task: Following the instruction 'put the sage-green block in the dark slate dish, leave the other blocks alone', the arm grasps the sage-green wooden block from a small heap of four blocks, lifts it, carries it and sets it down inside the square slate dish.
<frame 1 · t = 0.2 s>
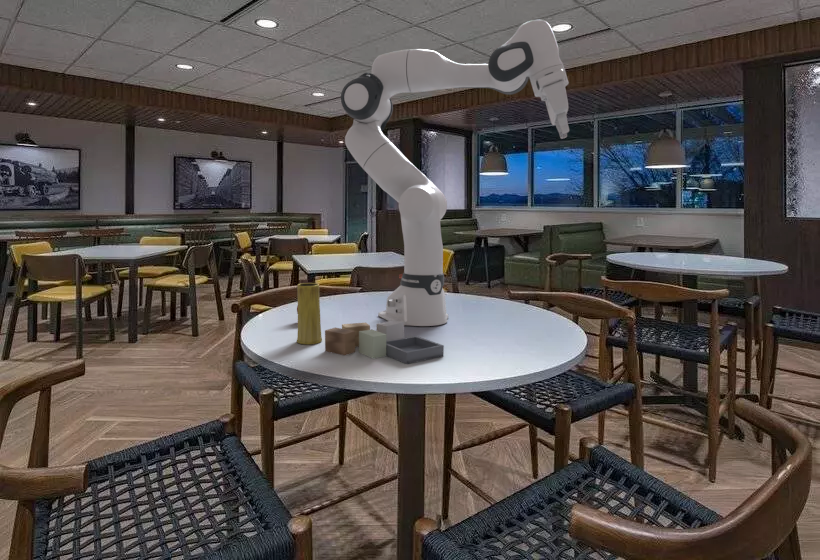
hand: (565, 135, 135), 52 cm above the table, tool tilted 20°, fingers open, 8 cm apart
block oak: (356, 345, 125), on the table
slate dish: (411, 354, 117), on the table
block sage: (372, 354, 118), on the table
block grey: (390, 342, 128), on the table
onion: (307, 322, 149), on the table
block walnut: (340, 351, 119), on the table
vase: (309, 342, 128), on the table
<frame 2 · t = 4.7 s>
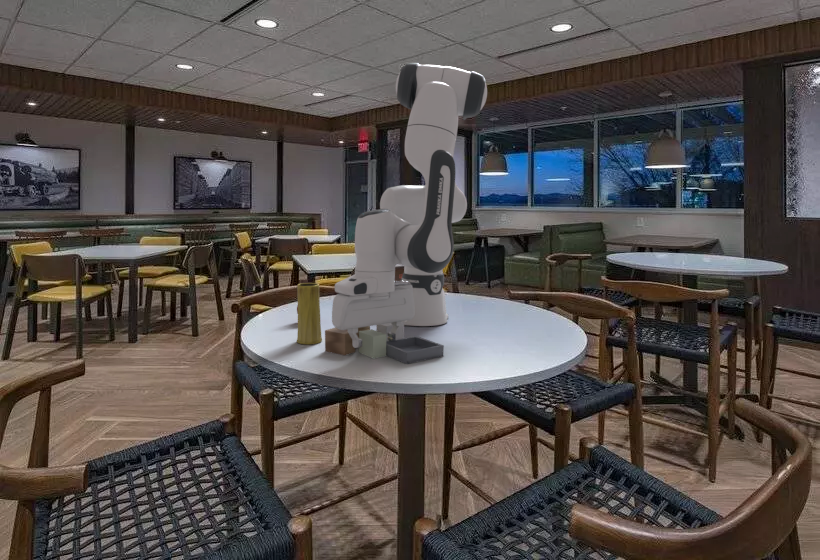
hand: (375, 343, 117), 3 cm above the table, tool pointing down, fingers open, 8 cm apart
nothing on the table moved.
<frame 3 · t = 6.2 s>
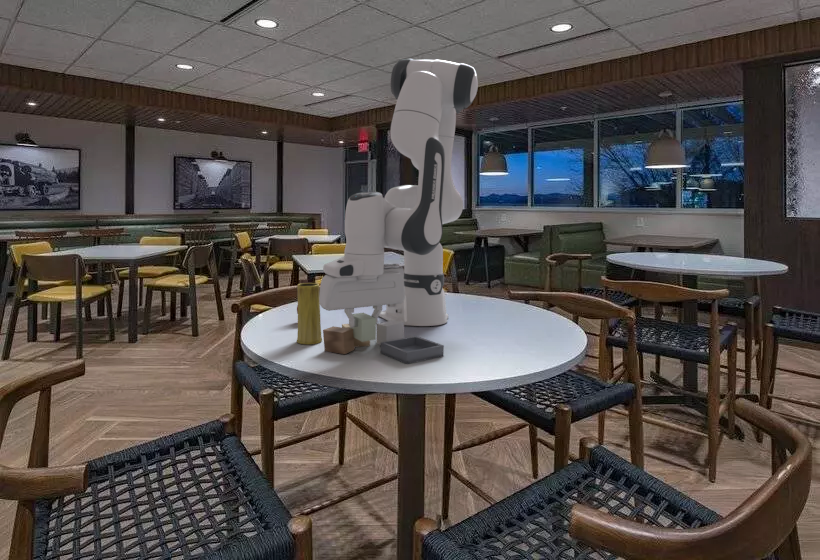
hand: (363, 325, 118), 6 cm above the table, tool pointing down, fingers closed on block sage, 3 cm apart
block sage: (362, 337, 119), point 3 cm above the table, touching gripper
everything else where it was.
when the fingers open (4 cm above the table, at t = 10.2 s): block sage stays where it is, resting on slate dish.
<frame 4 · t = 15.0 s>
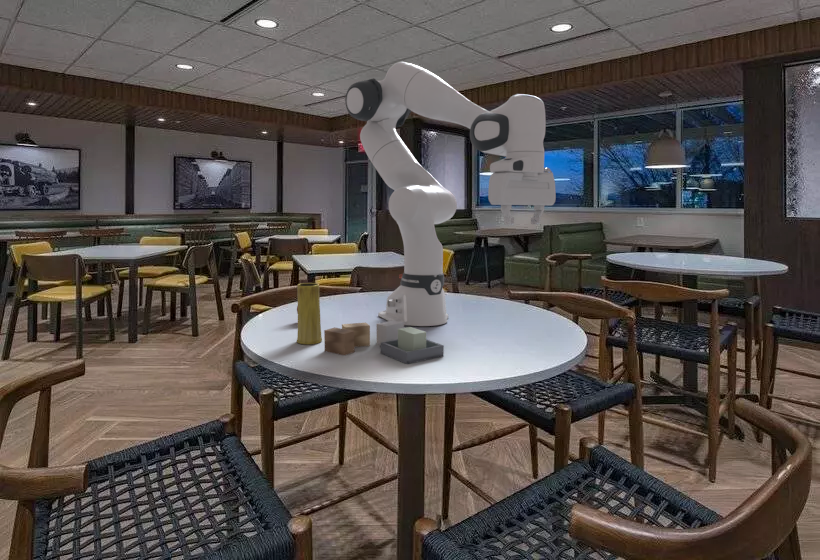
hand: (522, 224, 125), 29 cm above the table, tool pointing down, fingers open, 8 cm apart
block sage: (411, 352, 117), point 1 cm above the table, touching slate dish
everything else where it was.
at the end: block sage 0.0 cm off-centre on the slate dish, point 0.6 cm above the slate dish's base; block walnut moved 0.2 cm from its start; block oak moved 0.1 cm from its start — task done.
